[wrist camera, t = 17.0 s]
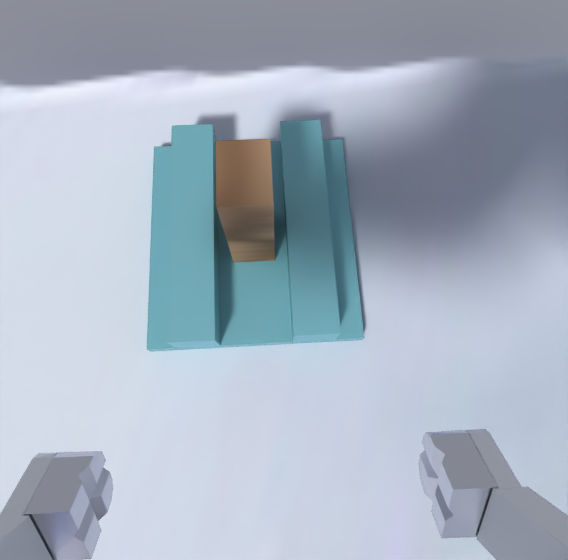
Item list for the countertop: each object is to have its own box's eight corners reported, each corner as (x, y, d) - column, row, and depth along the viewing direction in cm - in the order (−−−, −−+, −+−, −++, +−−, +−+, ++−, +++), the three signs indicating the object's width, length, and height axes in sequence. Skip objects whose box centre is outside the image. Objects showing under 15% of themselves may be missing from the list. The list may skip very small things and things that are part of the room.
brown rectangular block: (272, 210, 32) (270, 139, 23) (274, 260, 31) (273, 204, 22) (232, 212, 32) (215, 141, 23) (233, 262, 31) (216, 206, 22)
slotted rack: (340, 146, 35) (347, 118, 31) (361, 339, 30) (371, 331, 27) (157, 153, 34) (144, 126, 31) (151, 351, 30) (134, 344, 26)
